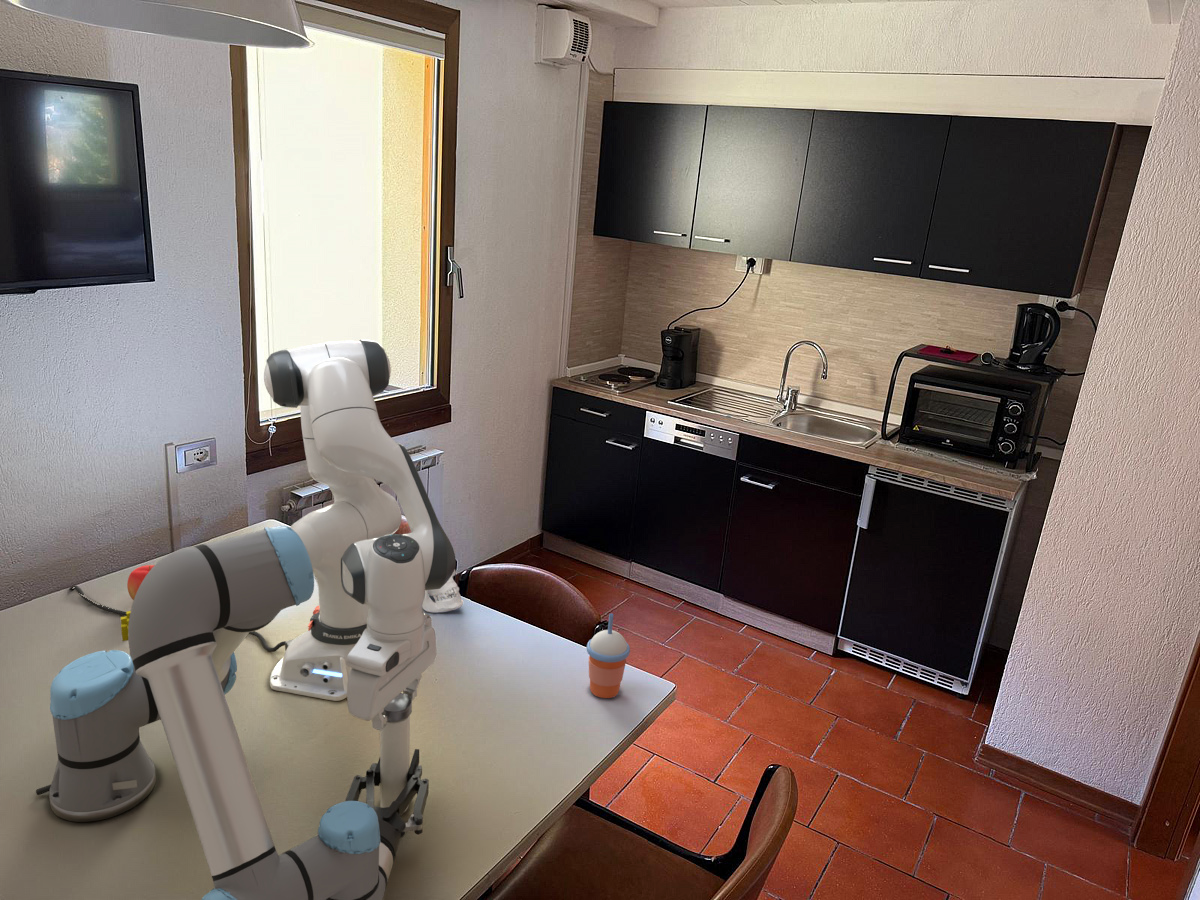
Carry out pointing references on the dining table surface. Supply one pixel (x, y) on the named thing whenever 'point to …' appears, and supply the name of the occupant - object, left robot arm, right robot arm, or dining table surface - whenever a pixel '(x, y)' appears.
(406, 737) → the white cylinder
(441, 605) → the skull
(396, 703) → the lid
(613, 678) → the cup with straw
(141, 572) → the apple
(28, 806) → the dining table surface
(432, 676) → the dining table surface
